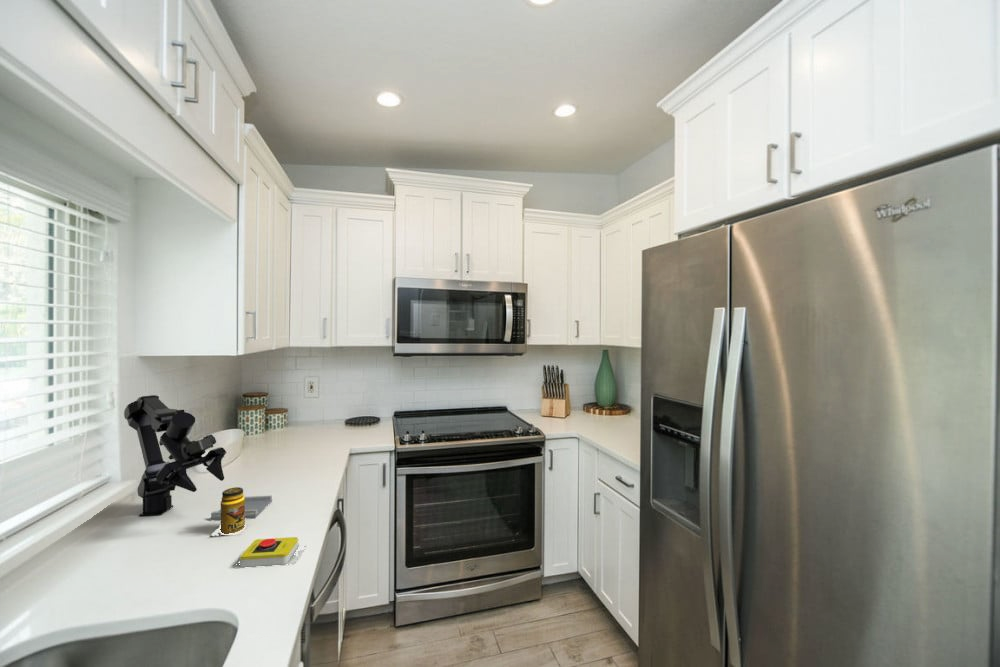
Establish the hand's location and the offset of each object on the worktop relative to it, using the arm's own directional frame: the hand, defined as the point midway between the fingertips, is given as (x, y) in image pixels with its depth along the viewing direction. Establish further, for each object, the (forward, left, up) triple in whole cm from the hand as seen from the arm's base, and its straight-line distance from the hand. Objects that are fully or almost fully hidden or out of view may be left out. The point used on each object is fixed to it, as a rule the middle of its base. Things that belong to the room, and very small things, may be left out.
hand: (209, 485), depth 124 cm
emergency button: (+25, -19, -14) cm, 34 cm away
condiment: (+7, -2, -13) cm, 15 cm away
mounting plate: (+4, +12, -13) cm, 18 cm away
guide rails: (+4, +12, -12) cm, 17 cm away
